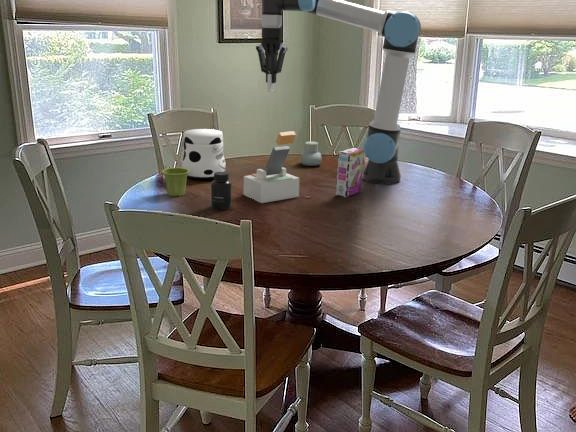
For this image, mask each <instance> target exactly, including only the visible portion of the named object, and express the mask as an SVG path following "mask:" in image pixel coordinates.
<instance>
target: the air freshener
mask: <svg viewBox="0 0 576 432" xmlns="http://www.w3.org/2000/svg"><path fill="white" fill-rule="evenodd" d="M300 162H301V163H300V164H302V165H303V166H305V167H306V166H307V167H316V166H319V165H320V164H322V153H321V152H319V143H318V142H317V141H306V142H305V143H304V150H303V151H302V152H301V153H300Z"/></svg>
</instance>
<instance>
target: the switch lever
mask: <svg viewBox="0 0 576 432" xmlns="http://www.w3.org/2000/svg"><path fill="white" fill-rule="evenodd" d="M296 136H297V133H296V132H295V131H294V130H292V131H291V130H290V131H283V132H281V131H279V132H278V134H277V136H276V139H275V143H276V145H278V146H273V147H272V150H271V152H270V155H269V158H268V160H267V163H266V166H265V168H264V170H265V171H266V175H273V174H280V171H281V169H282V167H283V166H284V164H285V162H286V159H287V157H288V155H289V154H290V153H289V152H290V150H291V148H290V146H289V145H291V144H293V143H294V141H295V138H296ZM288 144H289V145H288Z"/></svg>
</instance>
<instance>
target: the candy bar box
mask: <svg viewBox="0 0 576 432" xmlns="http://www.w3.org/2000/svg"><path fill="white" fill-rule="evenodd" d="M364 155H365V152H364V148H363V149H362V148H357V147H352V148H348V149H344V150H341V151H338V155H337V156H338V157H337V167H336V168H337V169H336V182H335V183H336V186H335V196H337V197H341V198H349V197H352V196H353V195H356V194H358V193H360V192H362V191H361V190H362V181H363V166H364Z"/></svg>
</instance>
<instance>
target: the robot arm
mask: <svg viewBox="0 0 576 432" xmlns="http://www.w3.org/2000/svg"><path fill="white" fill-rule="evenodd" d="M283 11H285V12H286V11H287V12H289V11H290V12H291V11H292V12H293V11H294V12H304V13H308V14H312V15H316V16H318V17H319V16H320V17H323V18H327V19H330V20H333V21H337V22H340V23H344V24H347V25H350V26H355V27H359V28H361V29H365V30H368V31H372V32H376V33H378V34H379V35H380V36H381V37H384V39H383V45H382V50H383V51H384V54H385V58H384V63H383V69H382V74H381V79H380V84H379V90H378V95H377V102H376V107H375V113H374V119H373V120H371V122H370V123H368V129H367V132H366V133H367V134H366V139H365V141H364V143H363V149H364V155H365V156H366V158H367V163H366V166H365V167H364V170H363V171H362V180H364V181H366V182H368V183H372V184H378V183H383V184H382V185H387V184H386V183H393V184H396V183H395V182H398V181H400V182H401V177H402V175H401V171H400V166H399V162H398V161H399V159H398V157H399V147H400V138H401V137H400V135H401V126H400V124H399V123H398V121H399V120H398V119H399V115H400V110H401V104H402V100H403V94H404V89H405V85H406V79H407V74H408V73H407V72H408V68H409V63H410V59H411V57H412V56H414V55H415V54H416V49H417V47H418V46H417V44H418V41H419V36H420V34H421V31H422V28H421V27H422V25H421V22H420V19H419V18H418V17H417V16H416V15H415V14H414V13H413V12H411V11H407V10H400V11H396V10H395V11H393V10H391V9H389V10H386V11H383V10H379V9H375V8H372V7H369V6H364V5H360V4H358V3H353V2H350V1H346V0H261V26H262V28H261V38H262V39H261V42H260V44H259V45H256V46H255V49H256V52H257V54H258V55H257V56H258V59H259V66H260V70H261V73H264V74H265V83H266V84H267V86H266V87H267V93H274V92H275V84H277V75H278V74H279V73H282V68H283V64H284V60H285V56H286V53H287V51H288V49H289V48H288V47H287V46H286V47H285V45H283V42H282V37H283V35H282V34H283V29H282V28H281V27H282V26H283ZM398 183H399V182H398Z"/></svg>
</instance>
